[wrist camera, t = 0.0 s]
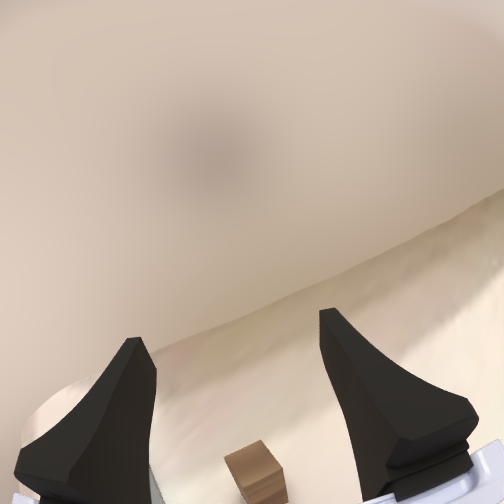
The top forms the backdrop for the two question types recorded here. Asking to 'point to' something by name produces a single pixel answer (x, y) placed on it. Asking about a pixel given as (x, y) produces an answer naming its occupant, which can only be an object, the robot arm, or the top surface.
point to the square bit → (258, 475)
